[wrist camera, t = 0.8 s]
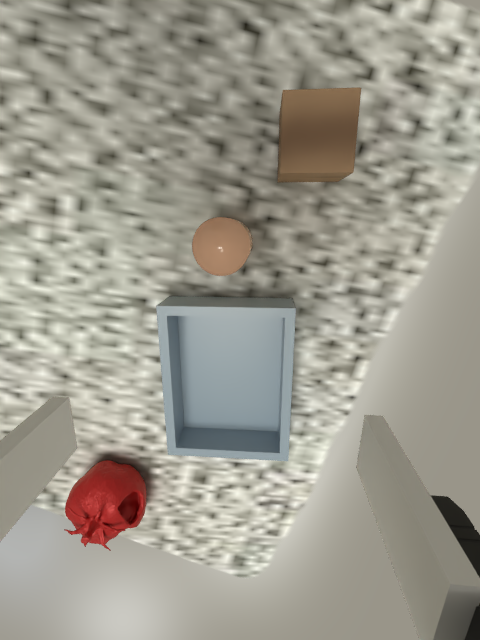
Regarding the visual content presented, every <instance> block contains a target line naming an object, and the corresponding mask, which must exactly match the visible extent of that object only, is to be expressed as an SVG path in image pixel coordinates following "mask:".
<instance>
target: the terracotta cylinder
mask: <svg viewBox="0 0 480 640" xmlns="http://www.w3.org/2000/svg"><path fill="white" fill-rule="evenodd" d="M192 249H193V254H194V257H195V259H196V261H197V263H198V264H199V265H200V267H201V268H203V269H204V270H205V271H207V272H208V273H210V274H213V275H217V276H225V275H230V274H232V273H234V272H236V271H238V270H239V269H240V268H241V267H242V266H243V265H244V263H245V261H246V260H247V258H248V256H249V254H250V252H251V249H252V236H251V233H250V231H249V229H248V228H247V227H246V226H245V225H244V224H243V223H242V222H240V221H238V220H235V219H231V218H225V217H216V218H212V219H209V220H207V221H205V222H204V223H203V224H201V225H200V226H199V228H198V229H197V231H196V232H195V235H194V238H193V243H192Z"/></svg>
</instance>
